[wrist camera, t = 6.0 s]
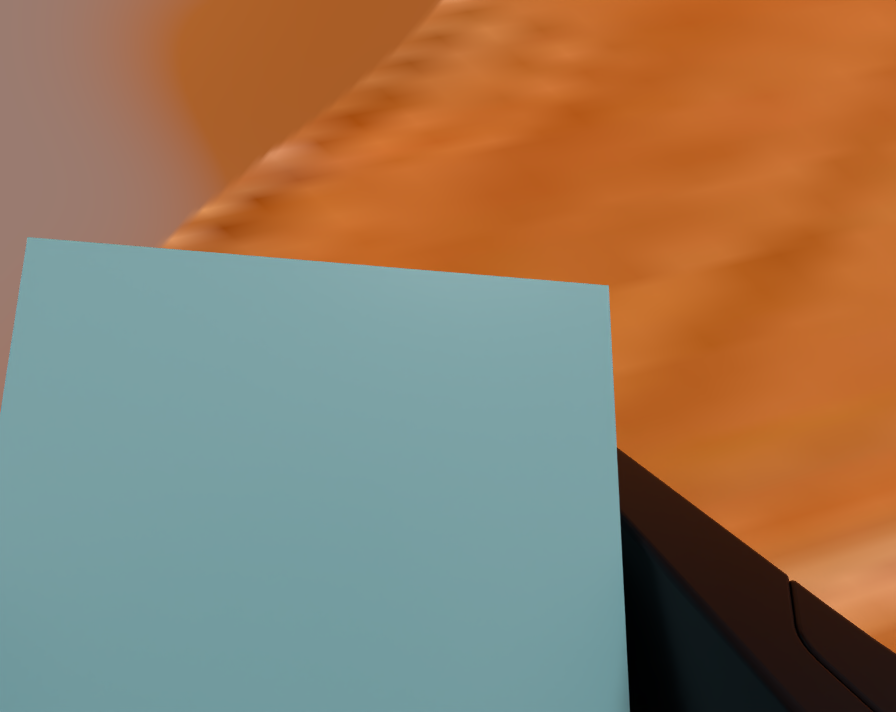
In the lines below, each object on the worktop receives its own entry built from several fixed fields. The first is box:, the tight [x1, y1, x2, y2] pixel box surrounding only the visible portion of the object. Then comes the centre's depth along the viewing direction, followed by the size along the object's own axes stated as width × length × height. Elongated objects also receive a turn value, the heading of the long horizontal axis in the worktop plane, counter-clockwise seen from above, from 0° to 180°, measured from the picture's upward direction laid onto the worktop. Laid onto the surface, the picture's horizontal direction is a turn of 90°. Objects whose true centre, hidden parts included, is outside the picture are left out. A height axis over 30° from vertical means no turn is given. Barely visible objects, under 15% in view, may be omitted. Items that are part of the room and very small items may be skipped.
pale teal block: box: [0, 237, 630, 712], centre depth 10 cm, size 5×5×9 cm
